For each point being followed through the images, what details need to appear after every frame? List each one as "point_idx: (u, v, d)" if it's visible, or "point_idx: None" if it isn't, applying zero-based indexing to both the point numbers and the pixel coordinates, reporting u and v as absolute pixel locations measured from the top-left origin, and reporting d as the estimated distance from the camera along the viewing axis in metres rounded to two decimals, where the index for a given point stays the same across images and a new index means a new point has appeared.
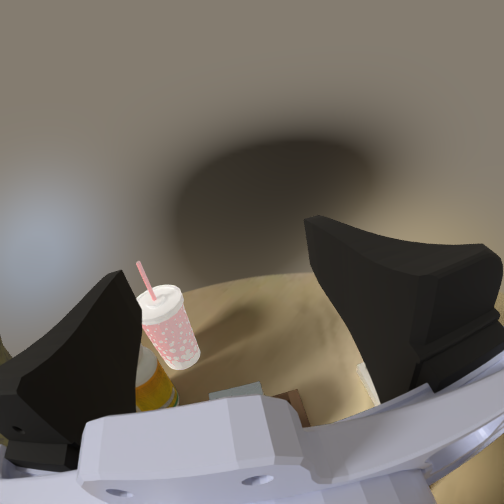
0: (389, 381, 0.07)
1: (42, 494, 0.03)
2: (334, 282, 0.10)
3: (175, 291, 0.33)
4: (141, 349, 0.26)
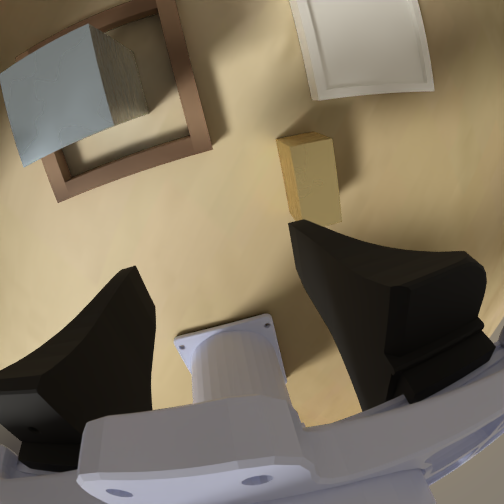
0: (368, 390, 0.07)
1: (42, 494, 0.03)
2: (316, 287, 0.10)
3: None
4: None
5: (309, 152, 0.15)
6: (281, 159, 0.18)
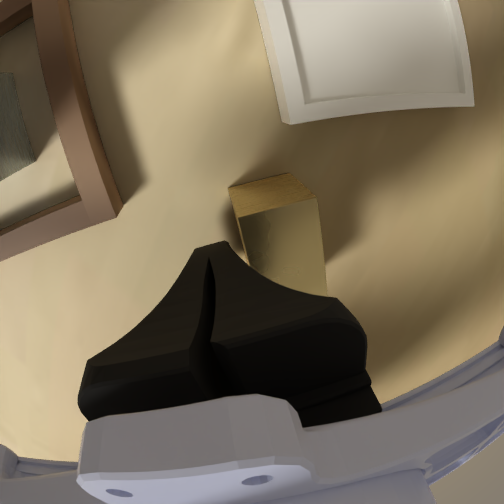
0: None
1: (42, 494, 0.03)
2: None
3: None
4: None
5: (273, 224, 0.09)
6: (236, 221, 0.12)
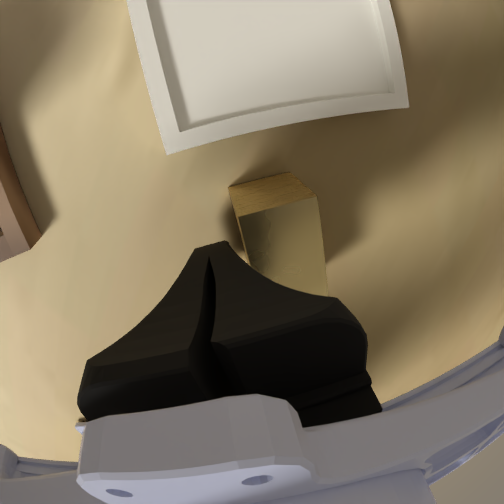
0: None
1: (42, 494, 0.03)
2: None
3: None
4: None
5: (274, 223, 0.09)
6: None
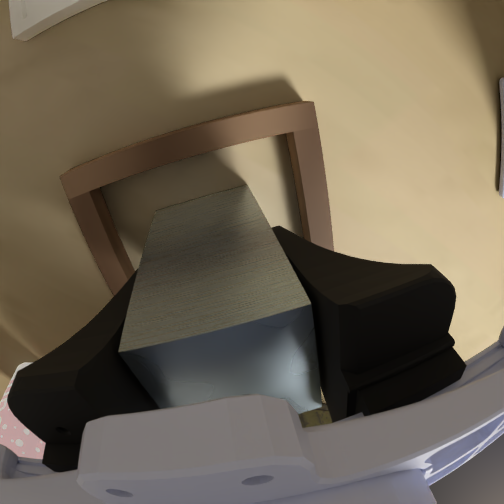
0: (334, 403, 0.07)
1: (42, 494, 0.03)
2: None
3: None
4: None
5: None
6: None
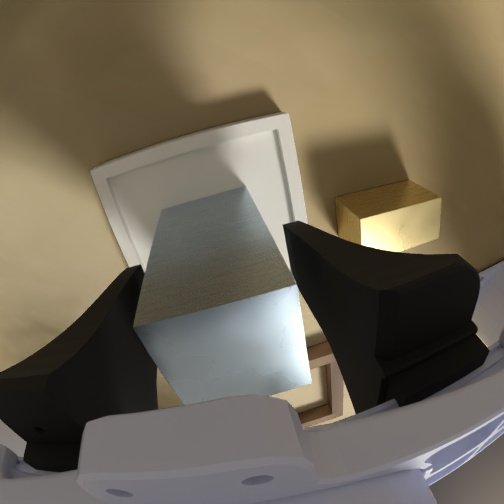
0: (361, 393, 0.07)
1: (42, 494, 0.03)
2: (310, 289, 0.10)
3: None
4: None
5: (371, 243, 0.14)
6: None
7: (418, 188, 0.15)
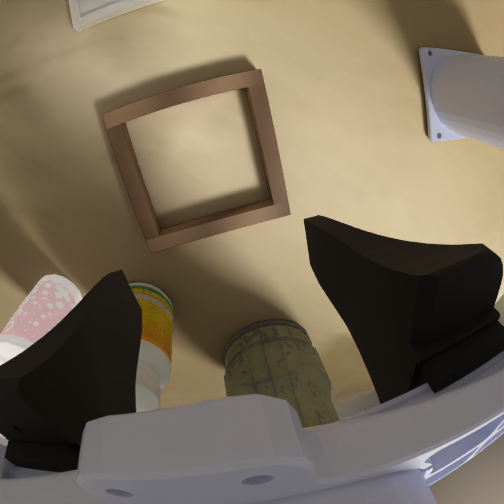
0: (389, 381, 0.07)
1: (42, 494, 0.03)
2: (333, 282, 0.10)
3: None
4: None
5: None
6: None
7: None
